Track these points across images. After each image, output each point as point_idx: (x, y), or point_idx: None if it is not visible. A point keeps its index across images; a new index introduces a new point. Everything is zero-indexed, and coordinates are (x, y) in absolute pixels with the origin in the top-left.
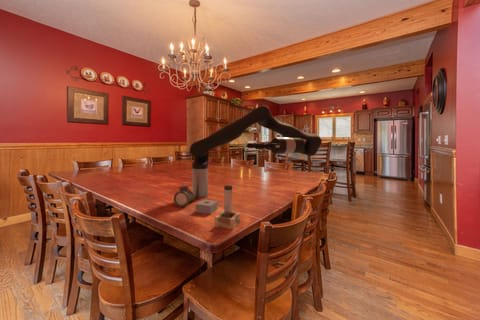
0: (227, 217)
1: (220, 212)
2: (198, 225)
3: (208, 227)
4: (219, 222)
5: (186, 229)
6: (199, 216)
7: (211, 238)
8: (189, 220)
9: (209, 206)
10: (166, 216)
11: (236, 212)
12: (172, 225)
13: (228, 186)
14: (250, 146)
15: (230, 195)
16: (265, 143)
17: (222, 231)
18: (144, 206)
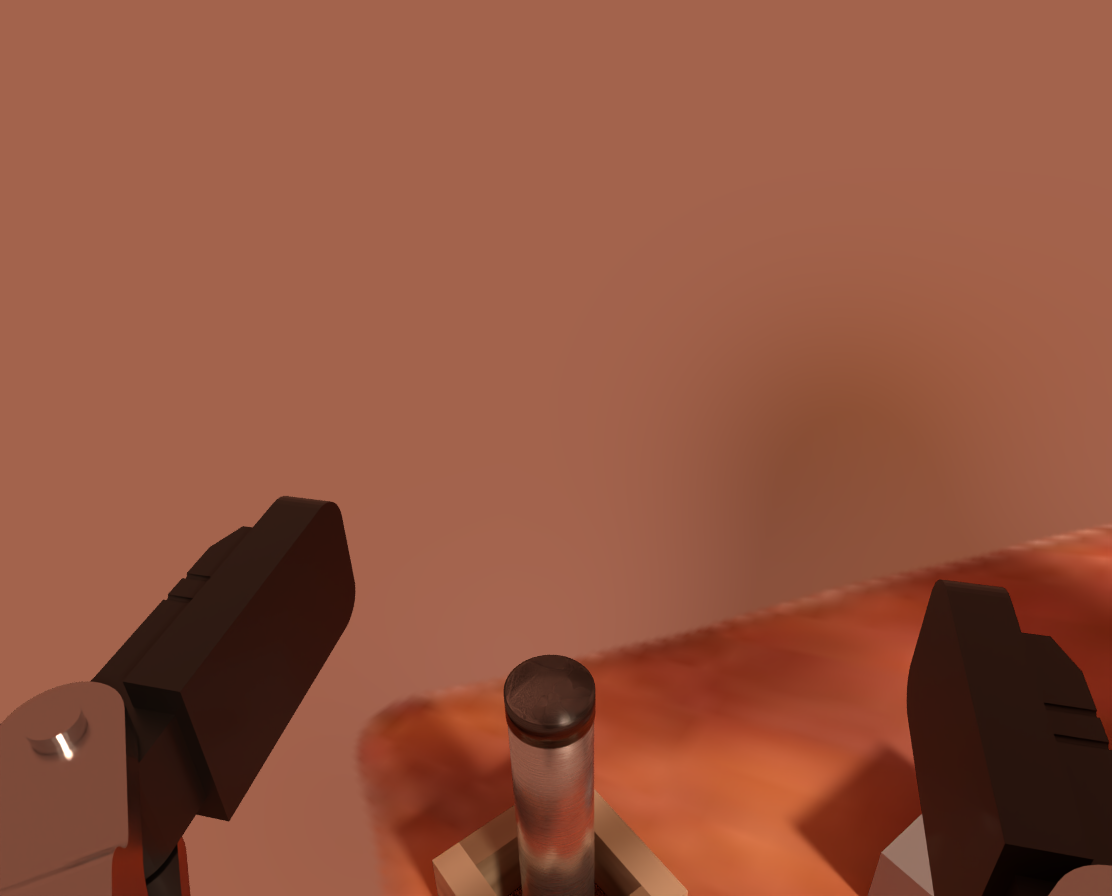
0: (503, 841)
1: (647, 847)
2: (656, 735)
3: None
4: None
5: (631, 663)
6: (838, 800)
7: (428, 729)
8: (776, 716)
9: (885, 849)
10: (911, 627)
11: None
12: (731, 622)
13: (534, 685)
14: (929, 742)
15: (511, 756)
16: (23, 708)
17: (467, 824)
18: None
